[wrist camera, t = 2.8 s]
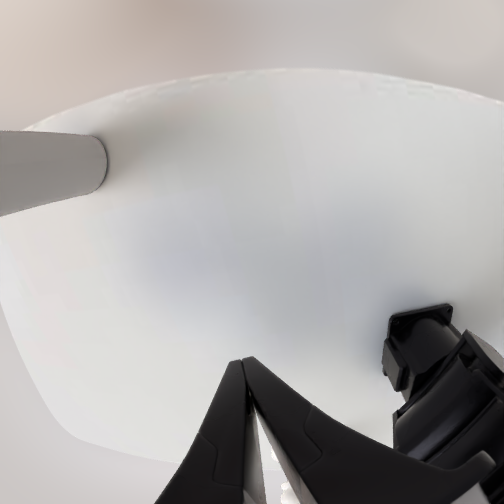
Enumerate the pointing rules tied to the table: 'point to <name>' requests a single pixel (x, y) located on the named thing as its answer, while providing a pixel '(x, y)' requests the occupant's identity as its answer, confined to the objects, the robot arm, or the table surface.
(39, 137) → the beverage can
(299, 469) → the robot arm
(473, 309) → the table surface
